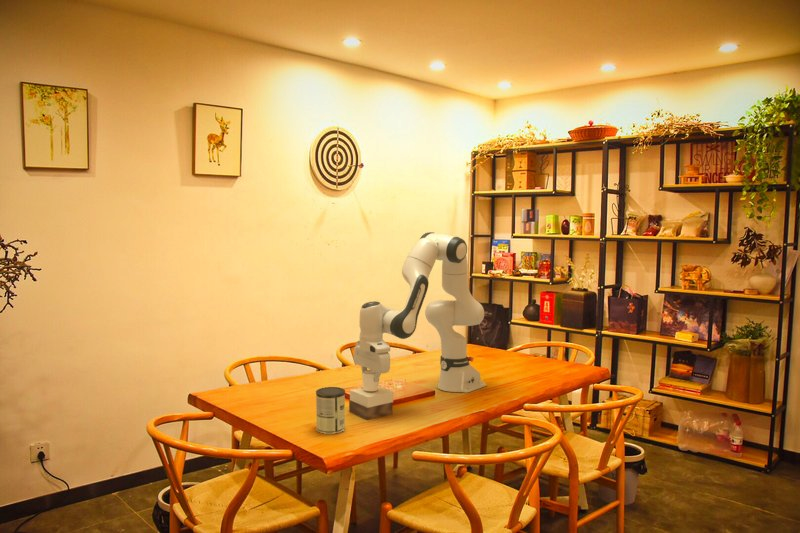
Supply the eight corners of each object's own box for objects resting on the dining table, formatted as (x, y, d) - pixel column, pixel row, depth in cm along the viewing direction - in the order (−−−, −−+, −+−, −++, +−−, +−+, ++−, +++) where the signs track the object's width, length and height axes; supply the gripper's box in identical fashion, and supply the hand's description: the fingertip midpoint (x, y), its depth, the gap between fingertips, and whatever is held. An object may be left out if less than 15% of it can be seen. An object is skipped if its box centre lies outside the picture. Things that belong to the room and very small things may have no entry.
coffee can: (318, 424, 226) (318, 386, 225) (346, 424, 226) (346, 386, 225) (313, 434, 216) (313, 394, 215) (343, 434, 216) (342, 395, 214)
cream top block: (374, 394, 248) (374, 384, 247) (393, 401, 238) (393, 391, 238) (349, 400, 240) (349, 390, 240) (367, 407, 231) (367, 397, 230)
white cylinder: (370, 385, 244) (370, 368, 243) (383, 389, 239) (383, 371, 239) (358, 389, 239) (358, 371, 238) (371, 393, 234) (371, 374, 233)
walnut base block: (374, 407, 248) (374, 394, 247) (392, 414, 238) (392, 402, 238) (349, 412, 241) (349, 399, 240) (366, 420, 231) (366, 407, 231)
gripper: (349, 340, 244) (349, 375, 245) (379, 350, 227) (379, 386, 229) (363, 338, 248) (363, 372, 249) (393, 347, 231) (393, 384, 232)
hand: (371, 379), depth 239 cm, fingers open, 5 cm apart
